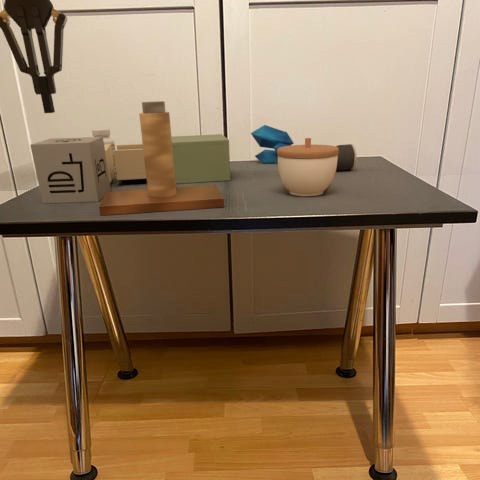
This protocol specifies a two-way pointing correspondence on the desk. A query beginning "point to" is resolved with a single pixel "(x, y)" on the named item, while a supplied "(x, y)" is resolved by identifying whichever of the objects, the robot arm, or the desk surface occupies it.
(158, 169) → the pepper mill
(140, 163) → the drawer
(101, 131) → the supplement bottle
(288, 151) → the trinket box
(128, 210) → the cutting board
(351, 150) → the flashlight
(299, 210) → the desk surface
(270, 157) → the crystal
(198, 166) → the cabinet
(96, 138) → the icon cube
